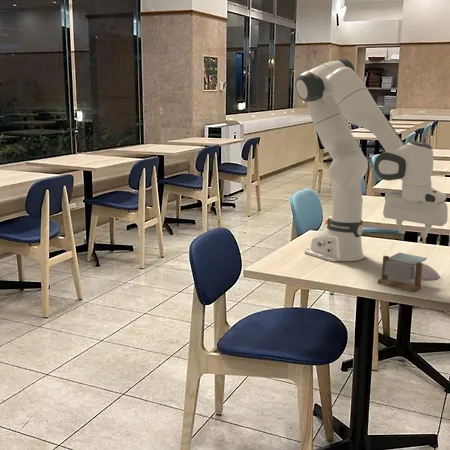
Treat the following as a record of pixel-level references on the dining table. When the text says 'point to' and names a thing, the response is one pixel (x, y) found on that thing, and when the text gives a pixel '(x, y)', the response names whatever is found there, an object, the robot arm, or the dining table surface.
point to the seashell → (427, 273)
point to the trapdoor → (402, 265)
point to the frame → (400, 285)
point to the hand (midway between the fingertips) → (412, 235)
